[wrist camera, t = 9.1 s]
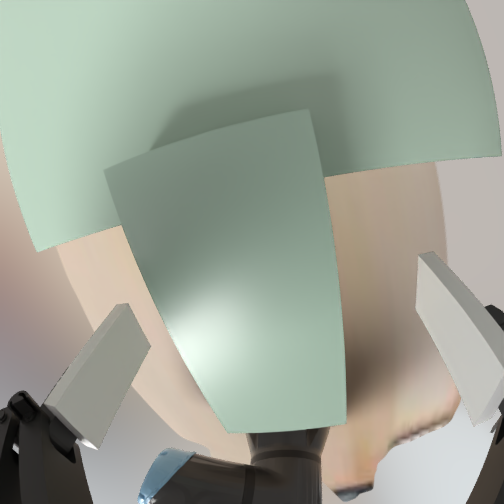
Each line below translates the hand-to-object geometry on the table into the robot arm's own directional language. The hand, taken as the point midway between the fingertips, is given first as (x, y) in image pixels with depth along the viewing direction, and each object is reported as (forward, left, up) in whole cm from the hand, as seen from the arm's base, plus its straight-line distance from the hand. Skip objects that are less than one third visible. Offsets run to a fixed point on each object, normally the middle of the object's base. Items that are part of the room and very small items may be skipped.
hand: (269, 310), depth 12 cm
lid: (+10, 0, -2) cm, 10 cm away
